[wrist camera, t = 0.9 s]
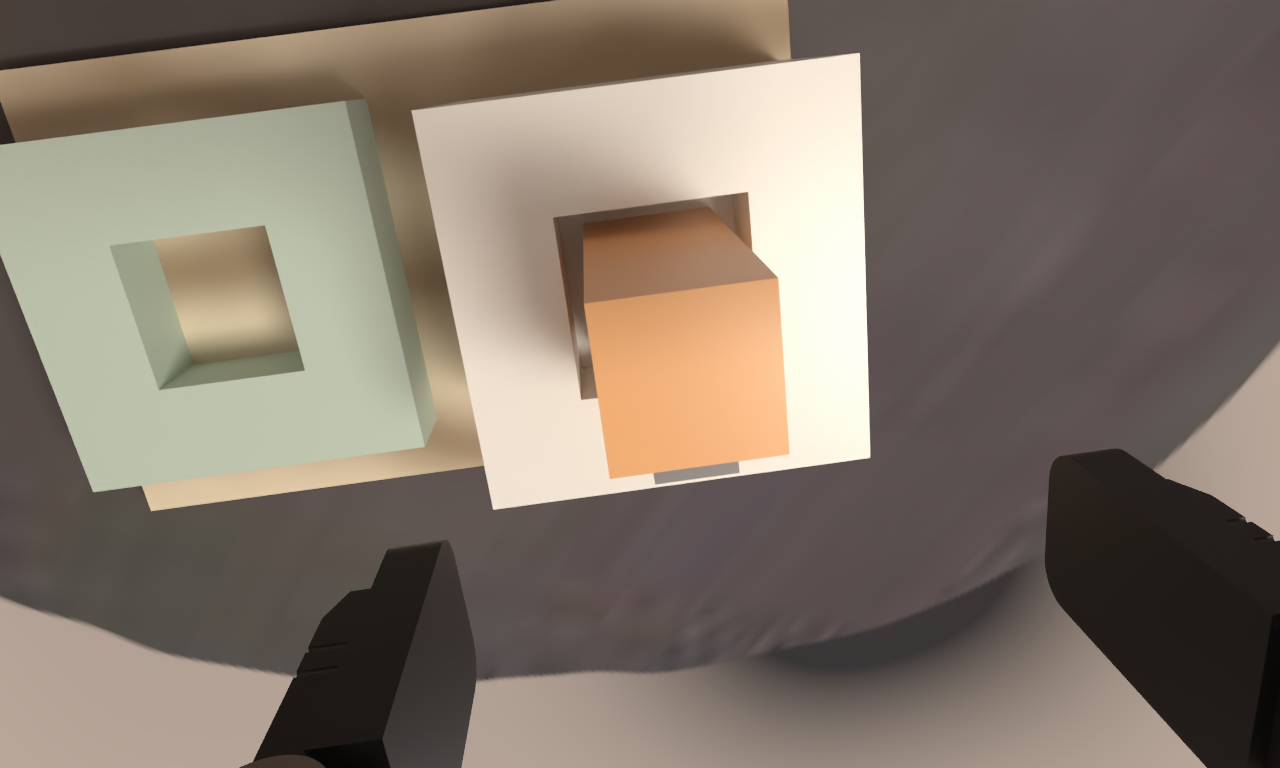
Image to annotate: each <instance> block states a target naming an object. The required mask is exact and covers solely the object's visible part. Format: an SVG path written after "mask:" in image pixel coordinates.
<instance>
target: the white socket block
mask: <svg viewBox="0 0 1280 768" xmlns="http://www.w3.org/2000/svg"><path fill="white" fill-rule="evenodd" d="M412 116H413V121H414V126H415V131H416V136H417V141H418V145H419V150H420V155H421V160H422V165H423V170H424V175H425V179H426V184H427V189H428V194H429V199H430V204H431V209H432V214H433V218H434V223H435V228H436V233H437V238H438V243H439V248H440V253H441V257H442V262H443V267H444V272H445V277H446V282H447V287H448V291H449V296H450V301H451V306H452V311H453V316H454V321H455V326H456V330H457V335H458V340H459V345H460V350H461V355H462V360H463V365H464V369H465V374H466V379H467V384H468V389H469V394H470V399H471V403H472V408H473V413H474V418H475V423H476V428H477V433H478V438H479V442H480V447H481V452H482V457H483V462H484V467H485V472H486V476H487V481H488V486H489V491H490V496H491V501H492V506H493V510H495V509H502V508H509V507H517V506H524V505H531V504H538V503H546V502H553V501H560V500H567V499H575V498H582V497H589V496H596V495H604V494H611V493H618V492H625V491H633V490H640V489H647V488H655V487H662V486H669V485H676V484H684V483H691V482H698V481H705V480H713V479H720V478H727V477H734V476H742V475H749V474H756V473H763V472H771V471H778V470H785V469H792V468H800V467H807V466H814V465H821V464H829V463H836V462H843V461H850V460H858V459H865V458H870V429H869V390H868V352H867V314H866V275H865V237H864V198H863V160H862V121H861V83H860V53H855V54H843V55H832V56H821V57H809V58H798V59H787V60H776V61H768V62H761V63H753V64H745V65H737V66H729V67H722V68H714V69H706V70H698V71H690V72H683V73H675V74H667V75H659V76H651V77H644V78H636V79H628V80H620V81H613V82H605V83H597V84H589V85H581V86H574V87H566V88H558V89H550V90H542V91H535V92H527V93H519V94H511V95H503V96H496V97H488V98H480V99H472V100H465V101H459V102H453V103H448V104H443V105H438V106H433V107H428V108H422V109H417V110H412ZM704 207H710V208H711V209H712V211H713V212H714V213H715V214H716V215H717V216H718V217H719V218H720V219H721V220H722V221H723V222H724V223H725V224H726V225H727V226H728V227H729V228H730V229H731V230H732V231H733V232H734V233H735V234H736V235H737V236H738V237H739V238H740V239H741V240H742V241H743V242H744V243H745V244H746V245H747V246H748V247H749V248H750V249H751V250H752V251H753V252H754V253H755V254H756V255H757V256H758V258H759V259H760V260H761V261H762V262H763V263H764V264H765V265H766V266H767V267H768V268H769V269H770V270H771V271H772V272H773V273H774V274H775V275H776V276H777V277H778V280H779V296H780V312H781V328H782V343H783V359H784V375H785V391H786V407H787V422H788V438H789V455H781V456H774V457H767V458H760V459H752V460H745V461H739V472H740V473H735V474H728V475H721V476H713V477H706V478H699V479H692V480H684V481H677V482H670V483H663V484H655V480H654V475H653V473H651V474H643V475H636V476H629V477H621V478H614V479H610V477H609V471H608V464H607V457H606V450H605V444H604V437H603V430H602V423H601V417H600V410H599V403H598V396H597V390H596V383H595V376H594V369H593V363H592V356H591V349H590V342H589V336H588V329H587V322H586V315H585V309H584V256H583V223H590V222H598V221H605V220H613V219H620V218H628V217H636V216H643V215H651V214H658V213H666V212H674V211H681V210H689V209H696V208H704Z"/></svg>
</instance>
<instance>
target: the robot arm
mask: <svg viewBox="0 0 1280 768" xmlns="http://www.w3.org/2000/svg"><path fill="white" fill-rule="evenodd" d="M1045 568H1046V574H1047V578H1048V582H1049V584H1050V588H1051V590H1052V592H1053V594H1054V596H1055V598H1056V600H1057V602H1058V603H1059V605H1060V606H1061V607H1062V608H1063V610H1064V611H1065V612H1066V613H1067V614H1068V615H1069V616H1070V617H1071V618H1072V620H1073V621H1074V622H1075V623H1076V624H1077V625H1078V626H1079V627H1080V628H1081V629H1082V631H1083V632H1084V633H1085V634H1086V635H1087V636H1088V637H1089V638H1090V639H1091V640H1092V641H1093V643H1094V644H1095V645H1096V646H1097V647H1098V648H1099V649H1100V650H1101V651H1102V652H1103V654H1104V655H1105V656H1106V657H1107V658H1108V659H1109V660H1110V661H1111V662H1112V664H1113V665H1114V666H1116V668H1117V669H1118V670H1119V671H1120V672H1121V674H1122V675H1124V677H1125V678H1126V679H1127V680H1128V681H1129V682H1130V683H1131V685H1133V687H1134V688H1135V689H1136V690H1137V691H1138V692H1139V693H1140V694H1141V695H1142V697H1143V698H1144V699H1145V700H1146V701H1147V702H1148V703H1149V704H1150V705H1151V707H1152V708H1153V709H1154V710H1155V711H1156V712H1157V713H1158V714H1159V715H1160V716H1161V718H1162V719H1163V720H1164V721H1165V722H1166V723H1167V724H1168V725H1169V726H1170V727H1171V729H1172V730H1173V731H1174V732H1175V733H1176V734H1177V735H1178V736H1179V737H1180V738H1181V740H1182V741H1183V742H1184V743H1185V744H1186V745H1187V746H1188V747H1189V748H1190V749H1191V751H1192V752H1193V753H1194V754H1195V755H1196V756H1197V757H1198V758H1199V759H1200V760H1201V762H1202V763H1203V764H1204V765H1205V766H1206V767H1207V768H1280V541H1274V539H1273V535H1271V534H1269V533H1268V532H1266V531H1265V530H1263V529H1262V528H1260V527H1259V526H1257V525H1256V524H1254V523H1253V522H1248V523H1247V522H1246V520H1245V517H1244V516H1242V515H1241V514H1239V513H1238V512H1236V511H1235V510H1233V509H1231V508H1230V507H1229V506H1227V505H1225V504H1224V503H1223V502H1221V501H1220V500H1218V499H1216V498H1215V497H1213V496H1212V495H1209V494H1207V493H1204V492H1201V491H1199V490H1196V489H1193V488H1191V487H1188V486H1185V485H1182V484H1180V483H1177V482H1174V481H1172V480H1169V479H1165V478H1163V477H1162V476H1160V475H1159V474H1158V473H1156V472H1155V471H1153V470H1152V469H1150V468H1149V467H1147V466H1146V465H1144V464H1143V463H1141V462H1140V461H1139V460H1137V459H1136V458H1134V457H1133V456H1131V455H1130V454H1128V453H1127V452H1125V451H1123V450H1121V449H1108V450H1101V451H1094V452H1087V453H1079V454H1072V455H1065V456H1060V457H1058V458H1057V459H1055V461H1054V462H1053V464H1052V466H1051V470H1050V476H1049V493H1048V511H1047V529H1046V547H1045ZM308 648H309V653H305V655H304V657H303V659H302V661H301V663H300V666H299V668H298V670H297V677H296V678H293V680H292V682H291V684H290V686H289V688H288V691H287V692H286V695H285V697H284V699H283V701H282V703H281V705H280V707H279V709H278V711H277V713H276V715H275V717H274V719H273V721H272V724H271V725H270V728H269V730H268V732H267V734H266V736H265V738H264V740H263V742H262V744H261V746H260V749H259V750H258V753H257V754H256V756H255V759H254V761H253V762H252V763H249V764H247V765H244V766H242V767H240V768H461V766H462V760H463V754H464V749H465V743H466V738H467V732H468V726H469V720H470V715H471V709H472V704H473V698H474V692H475V685H476V656H475V647H474V641H473V636H472V631H471V627H470V623H469V618H468V614H467V609H466V605H465V601H464V596H463V592H462V588H461V583H460V579H459V574H458V570H457V566H456V561H455V557H454V553H453V550H452V548H451V545H450V544H449V542H448V541H447V540H441V541H434V542H427V543H420V544H413V545H405V546H398V547H391V548H389V549H388V550H387V552H386V554H385V556H384V559H383V561H382V563H381V566H380V568H379V571H378V573H377V575H376V578H375V580H374V583H373V585H372V587H371V589H365V590H358V591H351V592H349V593H348V594H347V595H346V596H345V597H344V598H343V599H342V600H341V601H340V602H339V603H338V604H337V605H336V606H335V607H334V608H333V609H332V610H331V611H330V612H328V613H327V614H326V615H325V616H324V617H323V618H322V620H321V622H320V624H319V626H318V628H317V630H316V632H315V635H314V637H313V639H312V641H311V643H310V645H309V647H308Z"/></svg>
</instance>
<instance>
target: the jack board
mask: <svg viewBox="0 0 1280 768" xmlns="http://www.w3.org/2000/svg"><path fill="white" fill-rule="evenodd" d="M787 59H791V54H790V35H789V16H788V0H555V1H547V2H539V3H532V4H524V5H516V6H508V7H500V8H492V9H484V10H476V11H468V12H460V13H452V14H445V15H437V16H429V17H421V18H413V19H405V20H397V21H389V22H381V23H373V24H365V25H357V26H350V27H342V28H334V29H326V30H318V31H310V32H302V33H294V34H286V35H278V36H270V37H262V38H255V39H247V40H239V41H231V42H223V43H215V44H207V45H199V46H191V47H183V48H175V49H168V50H160V51H152V52H144V53H136V54H128V55H120V56H112V57H104V58H96V59H88V60H80V61H73V62H65V63H57V64H49V65H41V66H33V67H25V68H17V69H9V70H1V71H0V102H1V104H2V107H3V110H4V112H5V115H6V118H7V121H8V123H9V126H10V129H11V132H12V134H13V137H14V140H15V142H16V143H19V142H27V141H35V140H43V139H51V138H58V137H66V136H74V135H82V134H90V133H97V132H105V131H113V130H121V129H129V128H137V127H144V126H152V125H160V124H168V123H176V122H183V121H191V120H199V119H207V118H215V117H222V116H230V115H238V114H246V113H254V112H261V111H269V110H277V109H285V108H293V107H301V106H308V105H316V104H324V103H332V102H340V101H348V100H358V99H367V104H368V108H369V113H370V117H371V122H372V126H373V131H374V135H375V140H376V144H377V149H378V153H379V158H380V162H381V167H382V171H383V176H384V180H385V185H386V189H387V194H388V198H389V203H390V207H391V212H392V216H393V221H394V225H395V230H396V234H397V239H398V243H399V248H400V252H401V257H402V261H403V266H404V270H405V275H406V279H407V284H408V288H409V293H410V297H411V302H412V306H413V311H414V315H415V320H416V324H417V329H418V333H419V338H420V342H421V347H422V351H423V356H424V360H425V365H426V369H427V374H428V378H429V383H430V387H431V392H432V396H433V401H434V405H435V410H436V414H437V420H436V422H435V424H434V427H433V429H432V432H431V434H430V436H429V439H428V441H427V443H426V446H425V447H421V448H414V449H407V450H399V451H392V452H385V453H377V454H370V455H362V456H355V457H348V458H340V459H333V460H326V461H318V462H311V463H304V464H296V465H289V466H282V467H274V468H267V469H260V470H252V471H245V472H238V473H230V474H223V475H216V476H208V477H201V478H194V479H186V480H179V481H172V482H164V483H157V484H150V485H142V488H143V490H144V493H145V496H146V498H147V501H148V504H149V507H150V509H151V511H155V510H162V509H170V508H177V507H184V506H191V505H199V504H206V503H213V502H221V501H228V500H235V499H243V498H250V497H257V496H265V495H272V494H279V493H287V492H294V491H301V490H308V489H316V488H323V487H330V486H338V485H345V484H352V483H360V482H367V481H374V480H382V479H389V478H396V477H403V476H411V475H418V474H425V473H433V472H440V471H447V470H455V469H462V468H469V467H477V466H484V462H483V457H482V452H481V447H480V442H479V438H478V433H477V428H476V423H475V418H474V413H473V408H472V403H471V399H470V394H469V389H468V384H467V379H466V374H465V369H464V365H463V360H462V355H461V350H460V345H459V340H458V335H457V330H456V326H455V321H454V316H453V311H452V306H451V301H450V296H449V291H448V287H447V282H446V277H445V272H444V267H443V262H442V257H441V253H440V248H439V243H438V238H437V233H436V228H435V223H434V218H433V214H432V209H431V204H430V199H429V194H428V189H427V184H426V179H425V175H424V170H423V165H422V160H421V155H420V150H419V145H418V141H417V136H416V131H415V126H414V121H413V116H412V110H417V109H422V108H428V107H433V106H438V105H443V104H448V103H453V102H459V101H465V100H472V99H480V98H488V97H496V96H503V95H511V94H519V93H527V92H535V91H542V90H550V89H558V88H566V87H574V86H581V85H589V84H597V83H605V82H613V81H620V80H628V79H636V78H644V77H651V76H659V75H667V74H675V73H683V72H690V71H698V70H706V69H714V68H722V67H729V66H737V65H745V64H753V63H761V62H768V61H776V60H787ZM153 241H154V244H155V247H156V250H157V253H158V256H159V259H160V263H161V266H162V269H163V272H164V275H165V278H166V281H167V284H168V287H169V290H170V293H171V296H172V299H173V303H174V306H175V309H176V312H177V315H178V318H179V321H180V324H181V327H182V330H183V333H184V336H185V339H186V343H187V346H188V349H189V352H190V355H191V358H192V361H193V364H201V363H209V362H216V361H224V360H231V359H239V358H246V357H254V356H261V355H269V354H276V353H284V352H291V351H299V347H298V343H297V340H296V336H295V332H294V329H293V325H292V321H291V318H290V314H289V311H288V307H287V303H286V300H285V296H284V293H283V289H282V285H281V282H280V278H279V274H278V271H277V267H276V264H275V260H274V256H273V253H272V249H271V245H270V242H269V238H268V235H267V231H266V227H265V225H263V226H256V227H248V228H240V229H233V230H225V231H217V232H210V233H202V234H194V235H187V236H179V237H172V238H164V239H156V240H153Z"/></svg>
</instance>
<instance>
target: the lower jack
mask: <svg viewBox="0 0 1280 768" xmlns="http://www.w3.org/2000/svg"><path fill="white" fill-rule="evenodd" d="M263 225H265V227H266V231H267V235H268V238H269V242H270V245H271V249H272V253H273V256H274V260H275V264H276V267H277V271H278V274H279V278H280V282H281V285H282V289H283V293H284V296H285V300H286V303H287V307H288V311H289V314H290V318H291V321H292V325H293V329H294V332H295V336H296V340H297V343H298V347H299V351H291V352H284V353H276V354H269V355H261V356H254V357H246V358H239V359H231V360H224V361H216V362H209V363H201V364H193V361H192V358H191V355H190V352H189V349H188V346H187V343H186V339H185V336H184V333H183V330H182V327H181V324H180V321H179V318H178V315H177V312H176V309H175V306H174V303H173V299H172V296H171V293H170V290H169V287H168V284H167V281H166V278H165V275H164V272H163V269H162V266H161V263H160V259H159V256H158V253H157V250H156V247H155V244H154V241H153V240H156V239H164V238H172V237H179V236H187V235H194V234H202V233H210V232H217V231H225V230H233V229H240V228H248V227H256V226H263ZM0 255H1V258H2V260H3V263H4V265H5V268H6V270H7V273H8V276H9V278H10V281H11V283H12V286H13V288H14V291H15V293H16V296H17V298H18V301H19V304H20V306H21V309H22V311H23V314H24V316H25V319H26V321H27V324H28V327H29V329H30V332H31V334H32V337H33V339H34V342H35V344H36V347H37V350H38V352H39V355H40V357H41V360H42V362H43V365H44V367H45V370H46V372H47V375H48V378H49V380H50V383H51V385H52V388H53V390H54V393H55V395H56V398H57V401H58V403H59V406H60V408H61V411H62V413H63V416H64V418H65V421H66V424H67V426H68V429H69V431H70V434H71V436H72V439H73V441H74V444H75V447H76V449H77V452H78V454H79V457H80V459H81V462H82V464H83V467H84V469H85V472H86V475H87V477H88V480H89V482H90V485H91V487H92V490H93V492H98V491H105V490H113V489H120V488H127V487H135V486H142V485H150V484H157V483H164V482H172V481H179V480H186V479H194V478H201V477H208V476H216V475H223V474H230V473H238V472H245V471H252V470H260V469H267V468H274V467H282V466H289V465H296V464H304V463H311V462H318V461H326V460H333V459H340V458H348V457H355V456H362V455H370V454H377V453H385V452H392V451H399V450H407V449H414V448H421V447H425V446H426V443H427V441H428V439H429V436H430V434H431V432H432V429H433V427H434V424H435V422H436V420H437V414H436V410H435V405H434V401H433V396H432V392H431V387H430V383H429V378H428V374H427V369H426V365H425V360H424V356H423V351H422V347H421V342H420V338H419V333H418V329H417V324H416V320H415V315H414V311H413V306H412V302H411V297H410V293H409V288H408V284H407V279H406V275H405V270H404V266H403V261H402V257H401V252H400V248H399V243H398V239H397V234H396V230H395V225H394V221H393V216H392V212H391V207H390V203H389V198H388V194H387V189H386V185H385V180H384V176H383V171H382V167H381V162H380V158H379V153H378V149H377V144H376V140H375V135H374V131H373V126H372V122H371V117H370V113H369V108H368V104H367V99H358V100H348V101H340V102H332V103H324V104H316V105H308V106H301V107H293V108H285V109H277V110H269V111H261V112H254V113H246V114H238V115H230V116H222V117H215V118H207V119H199V120H191V121H183V122H176V123H168V124H160V125H152V126H144V127H137V128H129V129H121V130H113V131H105V132H97V133H90V134H82V135H74V136H66V137H58V138H51V139H43V140H35V141H27V142H19V143H12V144H4V145H0Z"/></svg>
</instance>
